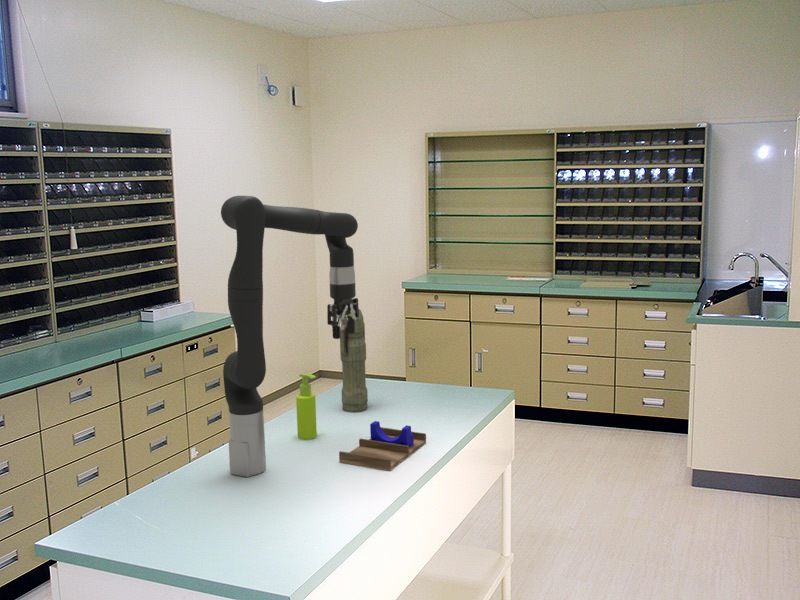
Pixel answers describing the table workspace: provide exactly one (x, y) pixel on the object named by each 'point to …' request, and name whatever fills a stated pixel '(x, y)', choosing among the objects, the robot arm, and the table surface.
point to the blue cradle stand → (379, 435)
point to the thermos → (353, 366)
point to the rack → (382, 451)
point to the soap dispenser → (306, 409)
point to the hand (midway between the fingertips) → (344, 335)
